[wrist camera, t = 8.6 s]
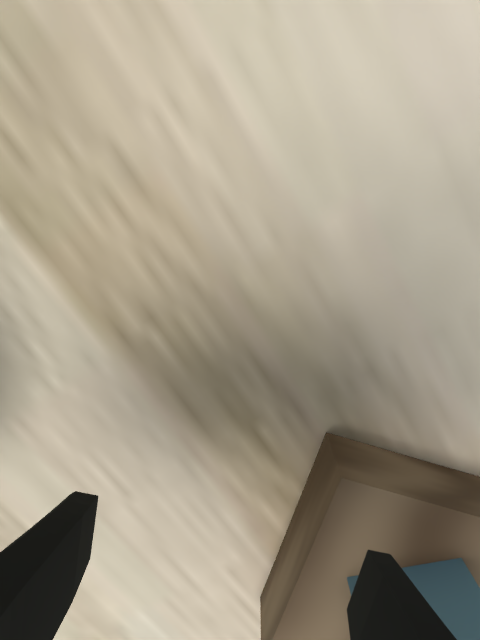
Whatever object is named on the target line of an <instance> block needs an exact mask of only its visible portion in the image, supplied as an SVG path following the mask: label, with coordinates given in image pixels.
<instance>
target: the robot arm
mask: <svg viewBox="0 0 480 640" xmlns="http://www.w3.org/2000/svg"><path fill="white" fill-rule="evenodd" d="M97 502H98V496H96V495H91V494H86V493H81V492H76V491H75V492H73V493H72V494H70V495H69V496H68V497H67V498H66V499H65V500H63V501H62V502H61V503H60V504H59V505H58V506H57V507H55V508H54V509H53V510H52V511H51V512H50V513H48V514H47V515H46V516H45V517H44V518H42V519H41V520H40V521H39V522H38V523H36V524H35V525H34V526H33V527H32V528H30V529H29V530H28V531H27V532H25V533H24V534H23V535H22V536H20V537H19V538H18V539H17V540H15V541H14V542H13V543H11V544H10V545H9V546H8V547H6V548H5V549H4V550H3V551H1V552H0V640H53V638H54V636H55V634H56V632H57V630H58V628H59V627H60V625H61V623H62V621H63V619H64V617H65V615H66V613H67V611H68V609H69V607H70V605H71V603H72V601H73V599H74V597H75V594H76V592H77V589H78V587H79V585H80V582H81V580H82V577H83V575H84V572H85V570H86V567H87V565H88V562H89V560H90V555H91V548H92V540H93V532H94V525H95V517H96V510H97ZM347 616H348V624H349V633H350V640H457V639H456V638H455V637H454V635H453V634H452V633H451V632H450V630H449V629H448V628H447V627H446V625H445V624H444V623H443V621H442V620H441V619H440V618H439V616H438V615H437V614H436V612H435V611H434V610H433V609H432V607H431V606H430V605H429V603H428V602H427V601H426V599H425V598H424V597H423V596H422V594H421V593H420V592H419V590H418V589H417V588H416V586H415V585H414V584H413V582H412V581H411V580H410V579H409V577H408V576H407V575H406V573H405V572H404V571H403V569H402V568H401V567H400V566H399V564H398V563H397V562H396V560H395V559H394V558H393V557H392V555H391V554H388V553H383V552H378V551H373V550H367V553H366V556H365V559H364V561H363V564H362V567H361V570H360V573H359V576H358V578H357V581H356V584H355V587H354V590H353V593H352V595H351V598H350V601H349V604H348V607H347Z"/></svg>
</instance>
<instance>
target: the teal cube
mask: <svg viewBox="0 0 480 640" xmlns="http://www.w3.org/2000/svg"><path fill="white" fill-rule="evenodd" d="M402 569H403V571H404V572H405V573H406V575H407V576H408V577H409V579H410V580H411V581H412V582H413V584H414V585H415V586H416V588H417V589H418V590H419V592H420V593H421V594H422V596H423V597H424V598H425V599H426V601H427V602H428V603H429V605H430V606H431V607H432V609H433V610H434V611H435V612H436V614H437V615H438V616H439V618H440V619H441V620H442V621H443V623H444V624H445V625H446V627H447V628H448V629H449V630H450V632H451V633H452V634H453V635H454V637H455V638H456V639H457V640H480V588H479V586H478V584H477V583H476V581H475V579H474V578H473V576H472V574H471V573H470V571H469V569H468V568H467V566H466V565H465V563H464V561H463V560H462V558H457V559H451V560H445V561H439V562H433V563H427V564H421V565H415V566H410V567H404V568H402ZM358 576H359V575H357V576H351V577H347V581H348V585H349V589H350V593H351V595H352V593H353V590H354V587H355V584H356V581H357V578H358Z"/></svg>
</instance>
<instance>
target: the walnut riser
mask: <svg viewBox="0 0 480 640" xmlns="http://www.w3.org/2000/svg"><path fill="white" fill-rule="evenodd" d="M367 550H373V551H378V552H383V553H388V554H391V555H392V557H393V558H394V559H395V560H396V562H397V563H398V564H399V566H400V567H401V568H404V567H410V566H415V565H421V564H427V563H433V562H439V561H445V560H451V559H457V558H462V560H463V561H464V563H465V565H466V566H467V568H468V569H469V571H470V573H471V574H472V576H473V578H474V579H475V581H476V583H477V584H478V586H479V588H480V477H478V476H475V475H471V474H468V473H464V472H461V471H457V470H454V469H450V468H447V467H444V466H440V465H437V464H433V463H430V462H426V461H423V460H419V459H416V458H413V457H409V456H406V455H402V454H399V453H395V452H392V451H388V450H385V449H382V448H378V447H375V446H371V445H368V444H364V443H361V442H357V441H354V440H350V439H347V438H344V437H340V436H337V435H333V434H330V433H326V435H325V437H324V440H323V442H322V445H321V447H320V450H319V452H318V455H317V457H316V460H315V462H314V465H313V467H312V470H311V472H310V475H309V477H308V480H307V482H306V485H305V487H304V490H303V492H302V495H301V497H300V500H299V502H298V505H297V507H296V510H295V512H294V515H293V517H292V520H291V522H290V525H289V527H288V530H287V532H286V535H285V537H284V540H283V542H282V545H281V547H280V550H279V552H278V555H277V557H276V560H275V562H274V564H273V567H272V569H271V572H270V574H269V577H268V579H267V582H266V584H265V587H264V589H263V592H262V594H261V597H260V602H261V640H350V633H349V624H348V616H347V607H348V604H349V601H350V598H351V593H350V589H349V585H348V581H347V577H351V576H357V575H359V573H360V570H361V567H362V564H363V561H364V559H365V556H366V553H367Z"/></svg>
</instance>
